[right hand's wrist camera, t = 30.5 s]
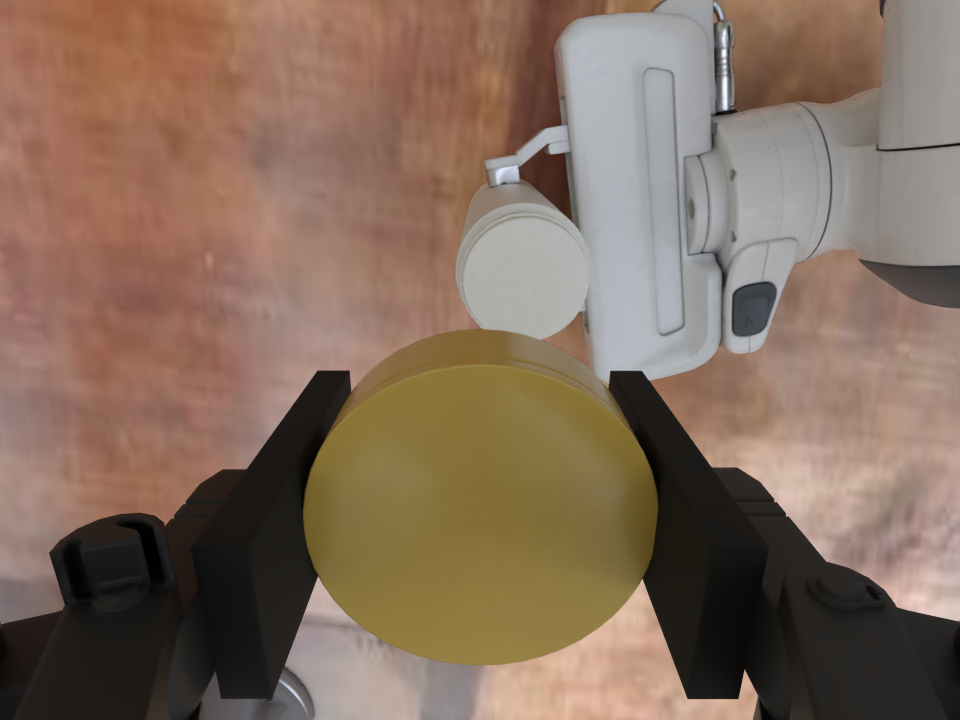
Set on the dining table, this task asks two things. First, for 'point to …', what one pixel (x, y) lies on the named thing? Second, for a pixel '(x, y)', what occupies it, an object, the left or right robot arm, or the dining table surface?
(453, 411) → the lid
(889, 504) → the dining table surface
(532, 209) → the jar
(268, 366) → the dining table surface
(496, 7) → the dining table surface
